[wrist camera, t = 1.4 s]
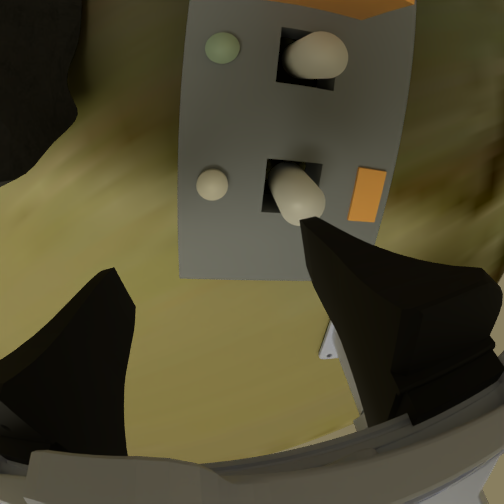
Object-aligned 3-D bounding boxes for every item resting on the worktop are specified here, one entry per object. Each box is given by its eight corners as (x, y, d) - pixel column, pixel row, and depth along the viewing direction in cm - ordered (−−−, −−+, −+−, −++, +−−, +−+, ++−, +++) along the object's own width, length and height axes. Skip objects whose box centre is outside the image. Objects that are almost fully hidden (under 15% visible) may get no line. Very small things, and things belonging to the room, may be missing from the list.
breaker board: (392, -31, 12) (419, -43, 9) (347, 257, 23) (365, 283, 20) (207, -68, 10) (205, -93, 7) (183, 253, 21) (178, 282, 18)
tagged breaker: (307, 163, 17) (329, 184, 14) (302, 199, 18) (320, 227, 15) (269, 160, 17) (283, 180, 13) (265, 196, 18) (276, 224, 15)
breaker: (323, 45, 13) (350, 37, 10) (318, 82, 15) (345, 82, 11) (283, 38, 13) (301, 26, 10) (279, 76, 14) (296, 73, 11)
